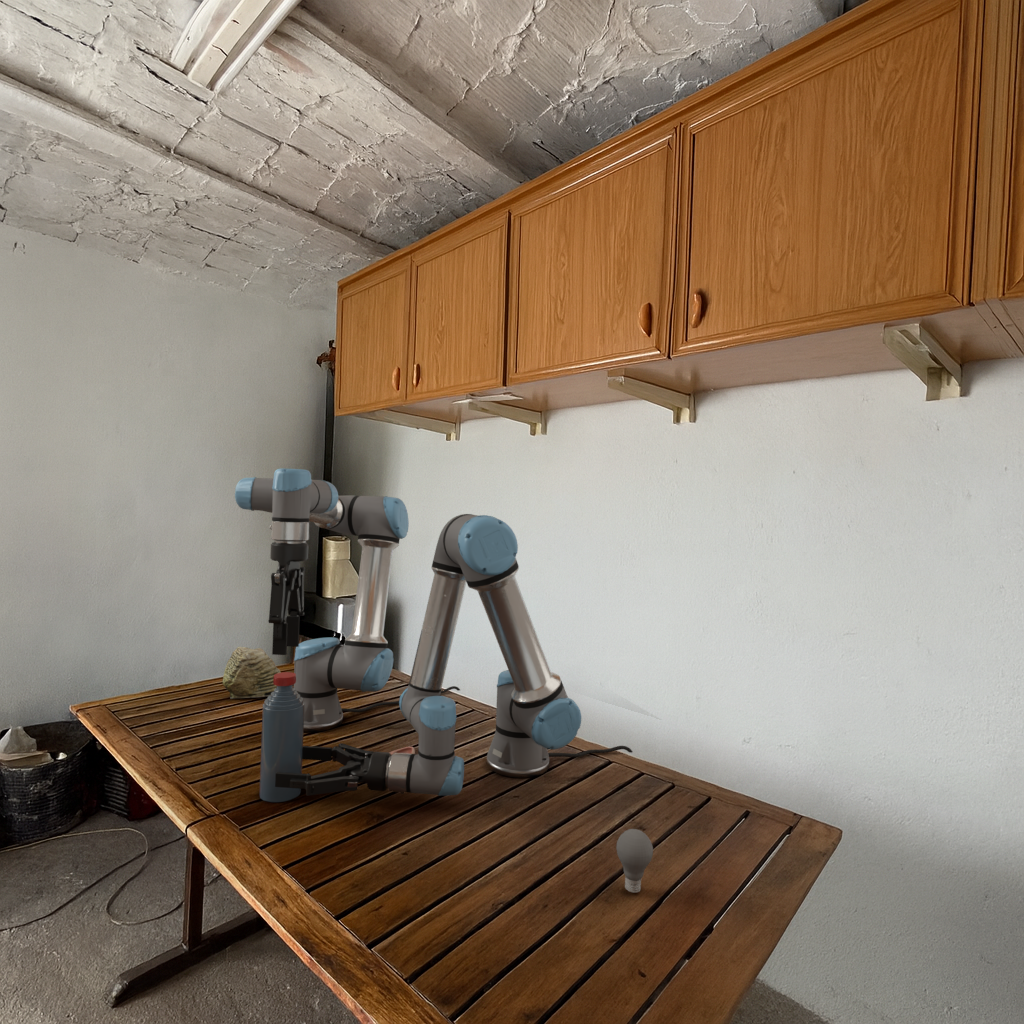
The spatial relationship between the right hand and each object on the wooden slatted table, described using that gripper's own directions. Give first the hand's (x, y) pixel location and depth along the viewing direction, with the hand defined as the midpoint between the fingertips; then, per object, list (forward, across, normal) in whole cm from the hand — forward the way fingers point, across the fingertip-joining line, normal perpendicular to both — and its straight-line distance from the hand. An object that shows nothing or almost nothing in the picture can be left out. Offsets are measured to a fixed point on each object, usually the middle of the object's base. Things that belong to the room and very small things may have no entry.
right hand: (289, 765), depth 133 cm
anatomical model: (-16, +16, -7) cm, 24 cm away
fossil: (+37, +63, -7) cm, 73 cm away
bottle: (+2, +1, -7) cm, 7 cm away
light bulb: (-69, -24, -7) cm, 73 cm away
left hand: (+2, +1, +24) cm, 24 cm away
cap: (+2, +1, +18) cm, 18 cm away
